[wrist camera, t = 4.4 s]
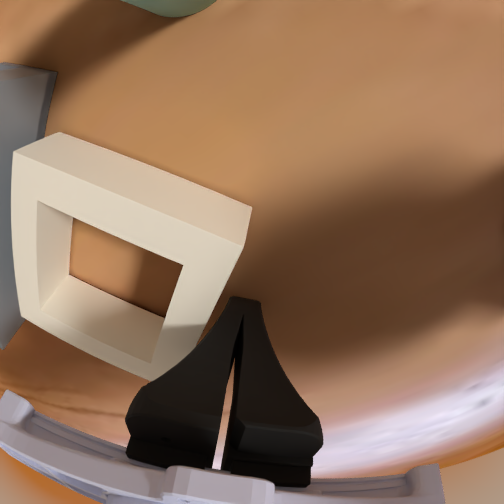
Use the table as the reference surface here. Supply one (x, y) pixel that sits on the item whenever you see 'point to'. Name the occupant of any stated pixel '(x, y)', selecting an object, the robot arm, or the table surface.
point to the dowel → (172, 6)
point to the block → (127, 228)
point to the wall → (3, 144)
